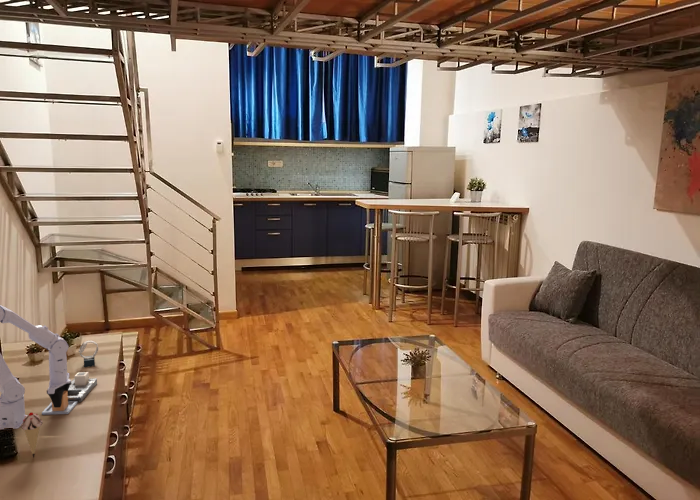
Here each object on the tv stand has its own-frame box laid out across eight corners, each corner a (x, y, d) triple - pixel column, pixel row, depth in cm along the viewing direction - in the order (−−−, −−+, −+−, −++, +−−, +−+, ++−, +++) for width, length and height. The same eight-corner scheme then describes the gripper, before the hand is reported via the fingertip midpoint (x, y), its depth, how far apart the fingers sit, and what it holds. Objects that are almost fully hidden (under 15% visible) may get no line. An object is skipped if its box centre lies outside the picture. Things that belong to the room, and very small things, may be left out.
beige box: (85, 390, 210) (84, 375, 209) (75, 390, 210) (74, 375, 209) (89, 385, 214) (88, 371, 213) (78, 386, 214) (78, 371, 213)
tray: (68, 414, 190) (68, 411, 189) (41, 415, 188) (41, 412, 188) (77, 403, 198) (77, 400, 198) (52, 404, 197) (52, 401, 197)
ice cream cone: (40, 450, 166) (37, 406, 163) (47, 457, 162) (45, 412, 160) (20, 457, 161) (17, 412, 159) (27, 465, 158) (24, 418, 156)
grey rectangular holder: (81, 403, 199) (81, 396, 199) (55, 403, 198) (55, 397, 197) (97, 383, 217) (97, 378, 216) (74, 384, 215) (73, 378, 215)
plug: (63, 410, 192) (63, 394, 191) (52, 411, 191) (51, 395, 190) (68, 405, 196) (67, 390, 195) (56, 406, 195) (55, 390, 194)
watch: (79, 363, 237) (78, 340, 236) (98, 361, 241) (98, 338, 239) (79, 367, 232) (78, 344, 231) (99, 365, 236) (98, 342, 234)
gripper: (61, 376, 184) (63, 412, 187) (77, 361, 199) (78, 395, 201) (40, 377, 183) (42, 413, 186) (57, 362, 198) (59, 395, 200)
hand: (60, 404), depth 193 cm, fingers closed on plug, 4 cm apart
